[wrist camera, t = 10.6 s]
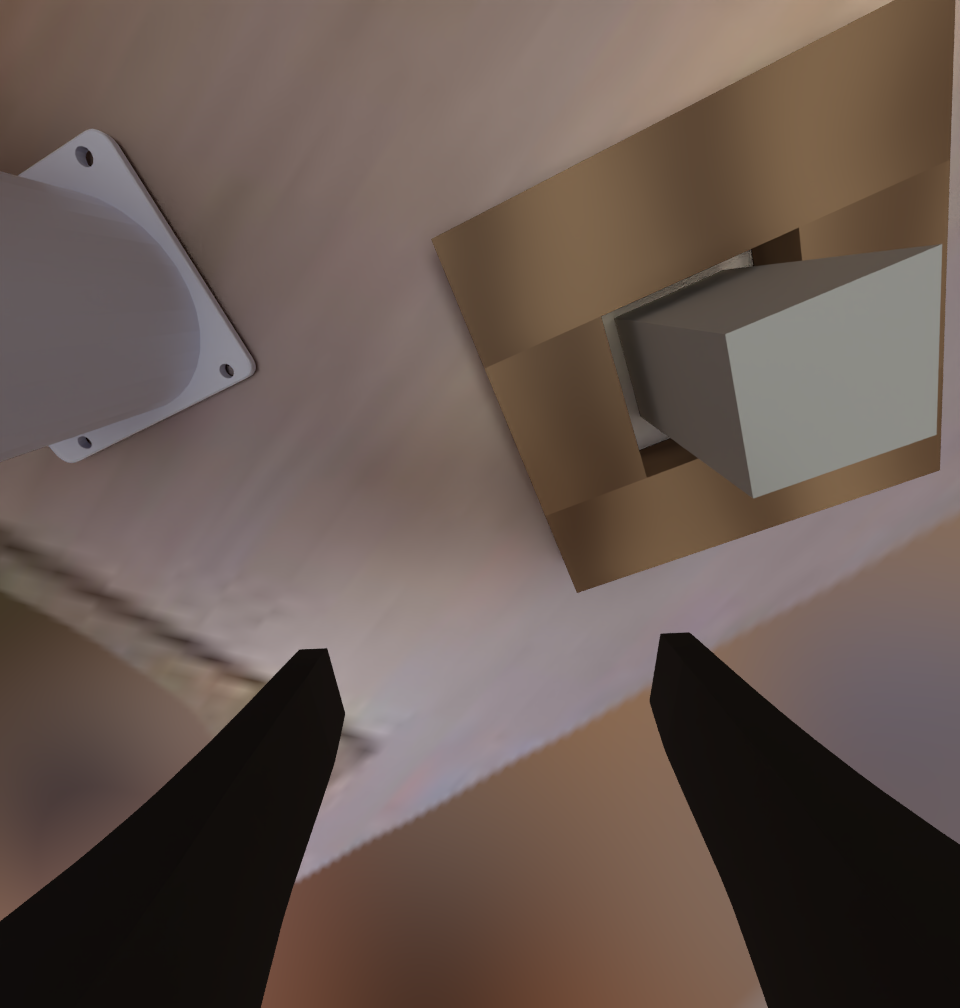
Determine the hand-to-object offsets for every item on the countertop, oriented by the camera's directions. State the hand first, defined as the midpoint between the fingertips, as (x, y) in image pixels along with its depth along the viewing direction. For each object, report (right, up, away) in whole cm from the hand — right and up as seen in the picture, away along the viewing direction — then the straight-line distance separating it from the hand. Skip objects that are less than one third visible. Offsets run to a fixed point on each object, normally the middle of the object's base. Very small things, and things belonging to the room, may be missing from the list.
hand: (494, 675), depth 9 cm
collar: (+7, +9, +7) cm, 14 cm away
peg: (+7, +10, +7) cm, 14 cm away
